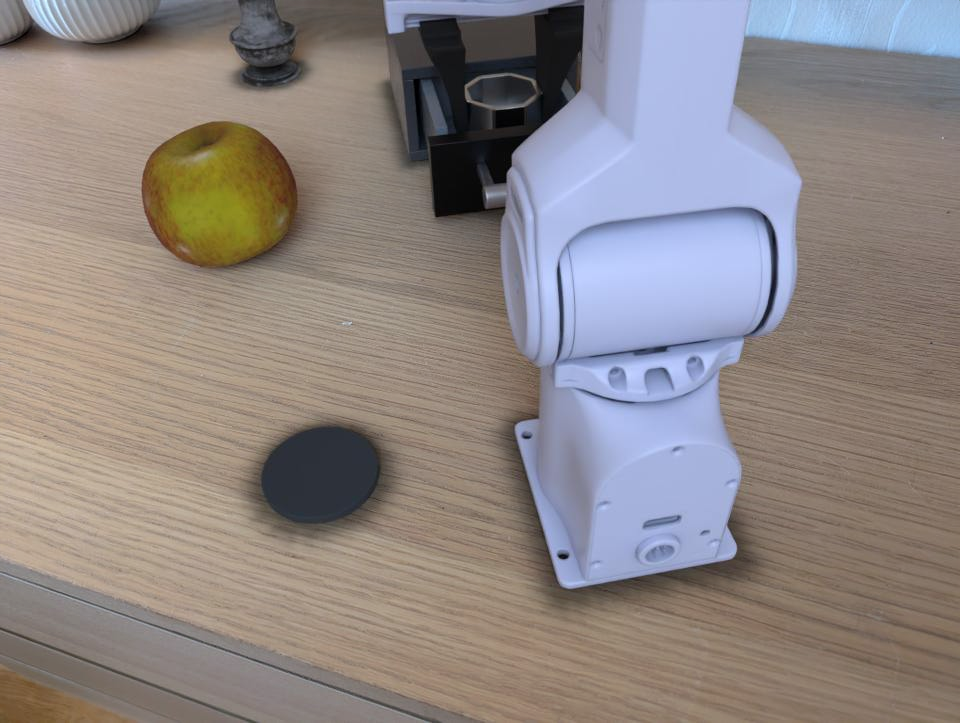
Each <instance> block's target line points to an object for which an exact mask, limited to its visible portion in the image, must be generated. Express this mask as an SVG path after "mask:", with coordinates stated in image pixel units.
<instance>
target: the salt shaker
mask: <svg viewBox="0 0 960 723" xmlns="http://www.w3.org/2000/svg"><path fill="white" fill-rule="evenodd" d="M237 2H238V7H239V11H240V25H239V26H237V27H234V28H233V29H232V30H231V31H230V33H229V35H228V41H229V42H230V43H231V44H232V45H233V46H234V49H235V51H236V54H238V56H239V57H240V58H241V60H242V61H244V62H245V63H247V64H248V65H247V66H246V67H245V68H244V69H243V70H242V72H241V73H240V74H241V75H240V76H241V79H242V81H243V82H244V83H246V84H247V85H250V86H254V87H274V86H279V85H280V86H281V85H283V84H287V83H289V82H292V81H293V80H296V79H297V78H298V77H299V76H300V75H301V73H302V66H301V65H300V64H299V63H298V62H296V61H295V60H292V59H290V58H291V57H292V55H293V54H294V51H295V48H296V43H297V41H296V40H297V39H296V37H297V35H298V32H299V31H298V27H297V26H296V25H295V24H294V23H292V22H290V21H287V20H282V19H281V17H280V15H279V12H278V9H277V6H276V1H275V0H237Z"/></svg>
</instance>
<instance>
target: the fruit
mask: <svg viewBox="0 0 960 723" xmlns="http://www.w3.org/2000/svg"><path fill="white" fill-rule="evenodd" d="M141 178H142V179H141V200H142V206H143V210H144V215H145V216H146V219H147V222H148V225H149V227H150V228H151V231H152V232H153V233H154V235H155V237H156V238H157V240H158V241H159V242H160V243H161V245H162V246H163V247H164V248H165V249H166V250H167V251H169V252H170V253H171V254H173V255H174V257H176V258H178V259H179V260H181V261H183V262H185V263H189V264H192V265H195V266H199V267H205V268H206V267H208V268H213V267H214V268H215V267H227V266H231V265H236V264H239V263H242V262H244V261H247V260H249V259H252V258H254V257H256V256H259V255H261V254H262V253H264V252H267V251H268V250H270V249H271V248H273V247H274V246H275V245H276V244H278V243H279V242H280V241H281V240H282V239H283V238H284V236H285V235H286V234H287V233H288V232H289V230H290V229H291V226H292V224H293V222H294V220H295V218H296V214H297V210H298V188H297V183H296V179H295V175H294V173H293V171H292V168H291V166H290V165H289V163H288V161H287V159H286V158H285V156H284V155H283V154H282V152H281V151H280V149H279V148H278V147H277V146H276V145H275V144H274V143H273V142H272V140H270V139H269V138H268V137H267V136H266V135H264V134H263V133H261V132H260V131H259V130H257V129H255V128H253V127H251V126H249V125H246V124H245V123H244V124H243V123H240V122H235V121H228V120H218V121H217V120H216V121H209V122H205V123H202V124H199V125H196V126H193V127H191V128H188V129H186V130H184V131H181V132H179V133H178V134H176V135H174V136H172V137H171V138H169V139H167V140H166V141H164V142H163V143H161V144H160V145H158V147H156V148H155V150H154V151H152V153H151V154H150V155H149V157H148V159H147V160H146V163H145V166H144V169H143V172H142V177H141Z"/></svg>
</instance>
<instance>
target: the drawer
mask: <svg viewBox="0 0 960 723" xmlns="http://www.w3.org/2000/svg"><path fill="white" fill-rule="evenodd" d="M500 73H513V74H517V75H521V76H525V77H528V78H532V79H535V77H536V66H531V67H522V68H513V69H504V70H494V71H485V72H476V73H466V74H465V85H466V84H467V83H469V82H470V81H472V80H473V79H475V78H477V77H478V76H479V77H480V76H482V75H491V74H500ZM417 90H418V102H419V114H420V124H421V128H422V131H423V135H424V139H425V142H426V146H427V149H428V154H429V159H428V164H429V165H428V166H429V177H430V180H429V181H430V190H431V192H430V193H431V202H432V203H431V204H432V211H433V214H434V217H435V219H438V218H445V217H453V216H460V215H469V214H475V213H484V212H492V211H498V210H505V209H506V193H507V172H508V171H509V169H510V168H511V167H512V154H513V153H514V151H515V150H516V149H517V148H518V147H519V146H520V145H521V144H522V143H523V142H524V141H525V140H526V139H527V138H528V137H530V136H531V135H532V134H533V133H534V132H535V131H536V130H537V129H539V128H540V127H541V126H542V125H543V124H545V123H540V124H531V125H523V126H514V127H505V128H497V129H488V130H480V131H471V132H462V133H457V132H456V129H455V126H454V123H453V116H452V110H451V105H450V101H449V98H448V94H447V91H446V89H445V87H444V84H443V82H442V80H441V78H440V76H439V77H429V78H420V79H417ZM576 95H577V93H576V94H575V92H574V90H573V89H572V87H571V85H570V84H569V82H568V81H567V79H566V78H565V81H564V83H563V86H562V88H561V91H560V94H559V96H558V100H557V103H556V106H555V110H554V113H553V116H554V115H555V114H556V113H557V112H559V111H560V110H561V109H562V108H563V107H564V106H566V105H567V104H568V103H569V102H570V101H571V100H572V99H573V98H574V97H575V96H576Z"/></svg>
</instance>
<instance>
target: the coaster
mask: <svg viewBox="0 0 960 723" xmlns="http://www.w3.org/2000/svg"><path fill="white" fill-rule="evenodd" d="M379 476H380V464H379V459H378V455H377V452H376V450H375V448H374V447H373V444H371V443H370V442H369V440H368V439H366V438H365V437H364V436H363V435H361V434H360V433H358V432H356V431H354V430H351V429H348V428H344V427H339V426H320V427H314V428H309V429H305V430H302V431H300V432H298V433H295V434H293V435H291V436H289V437H288V438H287V439H285V440H284V441H282V442H281V443H280V444H278V445H277V446H276V447H275V448H274V449H273V450H272V452H271V453H270V454H269V456H268V457H267V459H266V461H265V463H264V465H263V467H262V471H261V476H260V478H261V479H260V483H261V489H262V493H263V495H264V498H265V500H266V502H267V504H268V505H269V507H270V508H271V509H272V510H273V511H274V512H275V513H277V514H278V515H279V516H281V517H283V518H285V519H287V520H289V521H292V522H295V523H299V524H306V525H307V524H308V525H313V524H315V525H316V524H325V523H329V522H333V521H337V520H339V519H341V518H344V517H346V516H348V515H350V514H351V513H353V512H355V511H356V510H357V509H359V508H360V507H361V506H363V504H365V503H366V502H367V501H368V499H369V498H370V497H371V496H372V494H373V492H374V491H375V489H376V487H377V484H378V480H379Z"/></svg>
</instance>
